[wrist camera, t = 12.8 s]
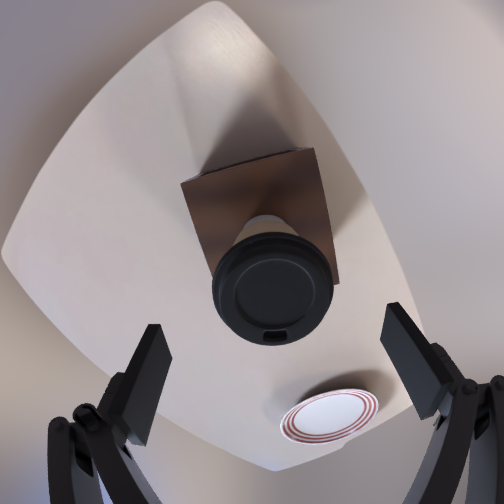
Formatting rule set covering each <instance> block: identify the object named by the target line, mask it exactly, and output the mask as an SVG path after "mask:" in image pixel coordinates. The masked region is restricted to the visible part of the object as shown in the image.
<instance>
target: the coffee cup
mask: <svg viewBox="0 0 504 504" xmlns="http://www.w3.org/2000/svg"><path fill="white" fill-rule="evenodd" d="M333 291H334V283H333V275H332V271H331V268H330V265H329V263H328V261H327V259H326V257H325V256H324V254H323V253H322V252H321V251H320V250H319V249H318V248H317V247H316V246H315V245H314V244H312V243H311V242H310V241H308V240H306V239H304V238H302V237H300V236H299V235H298V234H297V233H296V232H295V231H294V230H293V229H292V227H290V226H289V225H287V224H286V223H285V222H284V221H283V220H282V219H280V218H279V217H276V216H273V215H260V216H257V217H254V218H252V219H251V220H249V221H248V222H247V223H246V225H245V226H244V228H243V230H242V231H241V232H240V234H239V235H238V237H237V238H236V240H235V242H234V244H233V246H232V247H231V248H230V249H229V250H228V251H227V252H226V253H225V254H224V256H223V257H222V258H221V260H220V261H219V263H218V265H217V267H216V269H215V272H214V275H213V280H212V294H213V301H214V305H215V308H216V310H217V312H218V314H219V316H220V317H221V319H222V320H223V321H224V322H225V324H226V325H227V326H228V327H229V328H231V330H232V331H233V332H235V333H236V334H237V335H238V336H240V337H241V338H243V339H245V340H247V341H249V342H252V343H255V344H260V345H267V346H277V345H284V344H289V343H292V342H295V341H297V340H299V339H301V338H303V337H305V336H306V335H308V334H309V333H311V332H312V331H313V330H314V329H315V328H316V327H317V326H318V325H319V323H320V322H321V321H322V319H323V317H324V316H325V314H326V312H327V311H328V309H329V307H330V304H331V301H332V298H333Z"/></svg>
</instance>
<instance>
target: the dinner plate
mask: <svg viewBox="0 0 504 504" xmlns="http://www.w3.org/2000/svg"><path fill="white" fill-rule="evenodd" d="M378 406H379V405H378V400H377V398H376V397H375V395H373V394H372V393H371V392H368V391H366V390H362V389H338V390H333V391H328V392H324V393H321V394H318V395H315V396H312V397H310V398H308V399H305V400H304V401H302V402H300V403H298V404H297V405H295V406H294V407H292V408H291V409H290V410H289V411H288V412H287V413H286V414H285V415H284V417H283V418H282V420H281V424H280V429H281V432H282V434H283V435H284V436H285V437H286V438H288V439H289V440H291V441H294V442H297V443H301V444H310V445H311V444H312V445H316V444H325V443H330V442H335V441H338V440H341V439H344V438H346V437H348V436H351V435H353V434H355V433H356V432H358V431H360V430H361V429H362V428H364V427H365V426H366V425H367V424H368V423H369V422H370V421H371V420H372V419H373V418H374V417H375V415H376V413H377V411H378Z"/></svg>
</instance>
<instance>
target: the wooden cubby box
mask: <svg viewBox="0 0 504 504" xmlns="http://www.w3.org/2000/svg"><path fill="white" fill-rule="evenodd" d="M181 188H182V191H183V194H184V197H185V200H186V203H187V206H188V209H189V212H190V215H191V218H192V221H193V224H194V227H195V230H196V233H197V236H198V238H199V241H200V244H201V247H202V250H203V253H204V255H205V258H206V261H207V264H208V267H209V269H210V272H211V275H212V277H213V275H214V272H215V269H216V267H217V265H218V263H219V261H220V260H221V258H222V257H223V256H224V254H225V253H226V252H227V251H228V250H229V249H230V248H231V247H232V246H233V244H234V242H235V240H236V238H237V237H238V235H239V234H240V232H241V231H242V230H243V228H244V226H245V225H246V223H247V222H248V221H249V220H251V219H252V218H254V217H257V216H260V215H273V216H276V217H279V218H280V219H282V220H283V221H284V222H285V223H286V224H287V225H289V226H290V227H292V229H293V230H294V231H295V232H296V233H297V234H298V235H299V236H300V237H302V238H304V239H306V240H308V241H310V242H311V243H312V244H314V245H315V246H316V247H317V248H318V249H319V250H320V251H321V252H322V253H323V254H324V256H325V257H326V259H327V261H328V263H329V265H330V268H331V271H332V275H333V283H334V285H337V284H339V276H338V269H337V262H336V255H335V249H334V243H333V237H332V232H331V226H330V220H329V215H328V210H327V205H326V200H325V195H324V190H323V186H322V181H321V177H320V172H319V168H318V163H317V159H316V155H315V151H314V148H294V149H289V150H285V151H281V152H276V153H272V154H268V155H264V156H260V157H257V158H253V159H249V160H245V161H242V162H238V163H234V164H231V165H227V166H224V167H221V168H217V169H214V170H211V171H208V172H204V173H201V174H198V175H196V176H194V177H192V178H190V179H188V180H186V181H185V182H183V183H181Z"/></svg>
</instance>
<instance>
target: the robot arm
mask: <svg viewBox="0 0 504 504" xmlns="http://www.w3.org/2000/svg"><path fill="white" fill-rule="evenodd" d="M380 341H381V343H382V344H383V346H384V348H385V350H386V352H387V354H388V355H389V357H390V359H391V361H392V363H393V365H394V367H395V369H396V371H397V372H398V374H399V376H400V378H401V380H402V382H403V384H404V386H405V388H406V390H407V392H408V394H409V396H410V398H411V400H412V402H413V404H414V406H415V408H416V411H417V413H418V415H419V417H420V419H421V420H424V419H426V418H429V417H431V416H433V415H434V414H435V412H436V411H437V409H438V410H439V412H440V415H439V416H438V418H437V419H436V421H435V423H434V424H433V426H435V424H436V426H435V430H434V432H433V435H432V438H431V441H430V444H429V446H428V449H427V452H426V454H425V457H424V459H423V462H422V464H421V466H420V469H419V471H418V473H417V475H416V478H415V480H414V482H413V484H412V486H411V488H410V491H409V492H408V494H407V496H406V498H405V500H404V502H403V504H451V502H452V499H453V497H454V495H455V492H456V489H457V487H458V484H459V481H460V478H461V475H462V472H463V468H464V465H465V462H466V458H467V455H468V451H469V447H470V462H469V477H468V486H467V494H466V501H465V504H504V377H503V376H501V375H497V376H494V377H493V378H492V380H491V381H490V383H486V384H477V383H476V382H475V381H474V380H471V379H465V378H464V376H463V375H462V373H461V372H460V370H459V369H458V368H457V366H456V365H455V363H454V362H453V361H452V360H451V358H450V356H449V355H448V354H447V352H446V351H445V350H444V348H443V347H441V346H440V345H439V344H437V343H433V344H430V343H429V342H428V341H427V339H426V338H425V337H424V335H423V334H422V332H421V331H420V330H419V328H418V327H417V326H416V324H415V323H414V322H413V320H412V319H411V318H410V316H409V315H408V314H407V313H406V311H405V310H404V309H403V307H402V306H401V305H400V304H399V302H394V303H389V304H387V307H386V313H385V318H384V323H383V328H382V333H381V337H380ZM171 361H172V356H171V353H170V351H169V348H168V345H167V342H166V339H165V336H164V334H163V331H162V328H161V325H160V324H148V326H147V328H146V330H145V332H144V334H143V336H142V338H141V340H140V342H139V344H138V346H137V348H136V350H135V352H134V354H133V356H132V359H131V361H130V363H129V365H128V367H127V369H126V371H125V373H121V372H117V373H116V374H115V375H114V376H113V377H112V378H111V380H110V382H109V384H108V387H107V388H106V390H105V393H104V394H103V397H102V399H101V401H100V403H99V406H98V407H97V409H96V408H95V406H93V405H92V404H88V403H85V404H81V405H79V406H78V407H77V408H76V409H75V410H74V412H73V419H74V421H75V422H74V423H69V422H68V421H67V419H66V418H64V417H56V418H54V419H53V420H51V422H50V423H49V427H48V452H47V453H48V454H47V455H48V482H49V495H50V503H51V504H104V503H103V499H102V494H101V489H100V484H99V479H98V473H99V475H100V477H101V480H102V482H103V484H104V486H105V488H106V490H107V492H108V494H109V496H110V498H111V500H112V502H113V504H162V502H161V501H160V500H159V498H158V497H157V495H156V494H155V492H154V491H153V489H152V488H151V486H150V485H149V483H148V481H147V480H146V478H145V477H144V475H143V473H142V472H141V470H140V469H139V467H138V465H137V463H136V462H135V460H134V458H133V456H132V455H131V453H130V451H129V449H128V447H127V446H126V445H125V443H126V440H127V439H128V440H129V441H130V442H131V444H135V445H140V446H146V444H147V440H148V436H149V433H150V429H151V426H152V422H153V419H154V416H155V412H156V409H157V406H158V402H159V399H160V396H161V393H162V389H163V386H164V383H165V380H166V377H167V373H168V370H169V367H170V364H171ZM97 471H98V473H97Z"/></svg>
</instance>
